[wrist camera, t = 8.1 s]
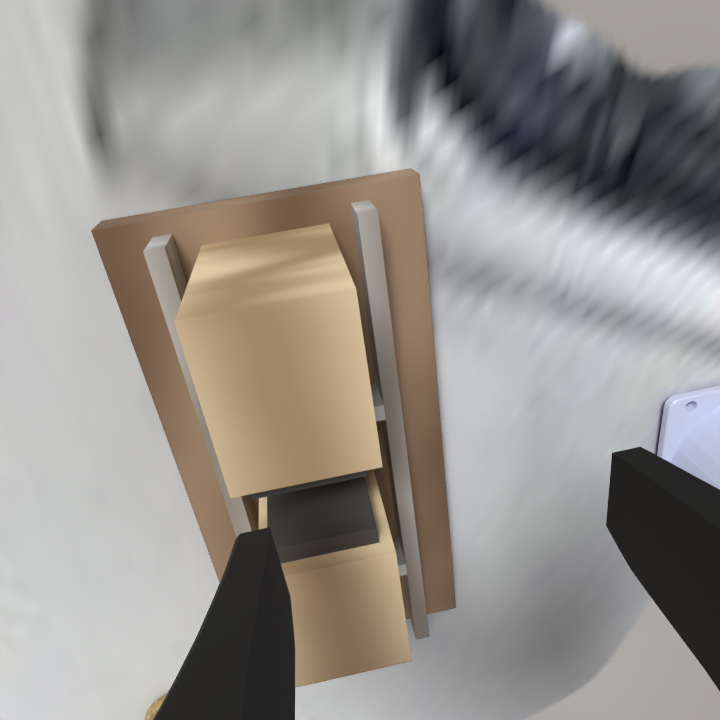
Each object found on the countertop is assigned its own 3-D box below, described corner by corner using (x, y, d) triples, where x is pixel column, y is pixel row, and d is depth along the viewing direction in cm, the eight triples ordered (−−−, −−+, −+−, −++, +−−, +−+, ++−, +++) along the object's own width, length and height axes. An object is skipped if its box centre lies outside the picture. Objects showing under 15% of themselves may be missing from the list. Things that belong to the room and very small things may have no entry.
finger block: (361, 421, 21) (393, 537, 16) (379, 530, 24) (411, 660, 19) (256, 442, 21) (253, 567, 16) (285, 550, 24) (291, 688, 18)
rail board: (410, 168, 19) (486, 221, 12) (448, 587, 28) (502, 739, 22) (101, 220, 18) (11, 305, 12) (246, 632, 27) (241, 802, 21)
